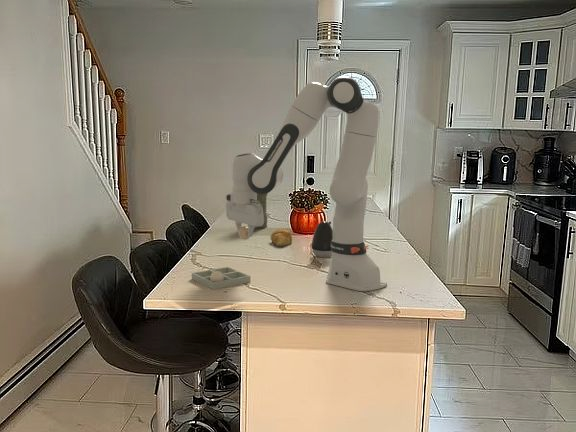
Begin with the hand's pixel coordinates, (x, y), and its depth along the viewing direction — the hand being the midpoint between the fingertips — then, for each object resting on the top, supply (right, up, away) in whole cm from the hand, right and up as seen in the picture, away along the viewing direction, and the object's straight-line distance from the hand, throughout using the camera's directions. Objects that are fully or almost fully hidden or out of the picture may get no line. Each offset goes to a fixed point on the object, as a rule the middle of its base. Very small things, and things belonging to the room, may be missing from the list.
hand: (244, 234), depth 204 cm
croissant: (+13, -6, +57) cm, 58 cm away
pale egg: (-8, -17, -14) cm, 23 cm away
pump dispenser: (+31, -10, +31) cm, 45 cm away
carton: (-8, -17, -9) cm, 20 cm away
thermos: (0, +1, +95) cm, 95 cm away
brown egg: (0, -2, 0) cm, 2 cm away
